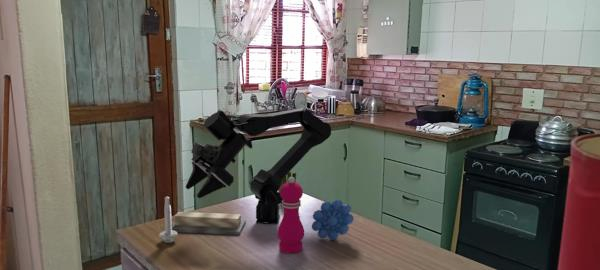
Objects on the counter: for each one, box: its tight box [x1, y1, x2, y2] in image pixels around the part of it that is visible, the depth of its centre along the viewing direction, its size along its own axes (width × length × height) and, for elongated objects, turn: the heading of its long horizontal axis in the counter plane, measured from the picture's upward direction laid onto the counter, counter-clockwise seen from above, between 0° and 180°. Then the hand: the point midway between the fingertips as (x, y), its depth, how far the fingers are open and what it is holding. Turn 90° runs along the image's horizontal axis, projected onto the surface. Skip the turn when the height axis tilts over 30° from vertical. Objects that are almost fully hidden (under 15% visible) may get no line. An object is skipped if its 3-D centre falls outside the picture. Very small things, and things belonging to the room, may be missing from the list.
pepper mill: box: [276, 176, 305, 254], centre depth 122 cm, size 7×7×20 cm
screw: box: [158, 196, 179, 244], centre depth 126 cm, size 13×5×5 cm
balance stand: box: [171, 211, 247, 236], centre depth 137 cm, size 21×9×4 cm, turn 85°
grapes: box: [311, 198, 354, 241], centre depth 130 cm, size 12×7×12 cm, turn 85°
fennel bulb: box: [277, 171, 297, 205], centre depth 157 cm, size 6×5×12 cm
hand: (192, 192), depth 129 cm, fingers open, 9 cm apart
